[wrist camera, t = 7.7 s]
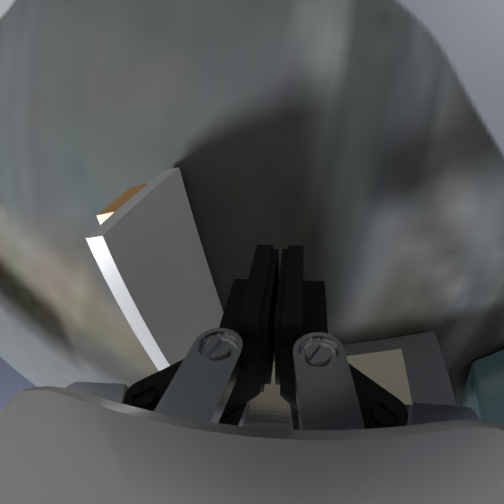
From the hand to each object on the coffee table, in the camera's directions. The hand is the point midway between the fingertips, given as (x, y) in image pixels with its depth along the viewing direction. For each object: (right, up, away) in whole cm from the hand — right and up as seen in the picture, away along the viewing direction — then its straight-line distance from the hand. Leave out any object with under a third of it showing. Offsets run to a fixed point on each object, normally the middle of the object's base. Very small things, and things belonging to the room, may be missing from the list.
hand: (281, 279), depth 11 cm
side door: (-4, -1, +7) cm, 8 cm away
